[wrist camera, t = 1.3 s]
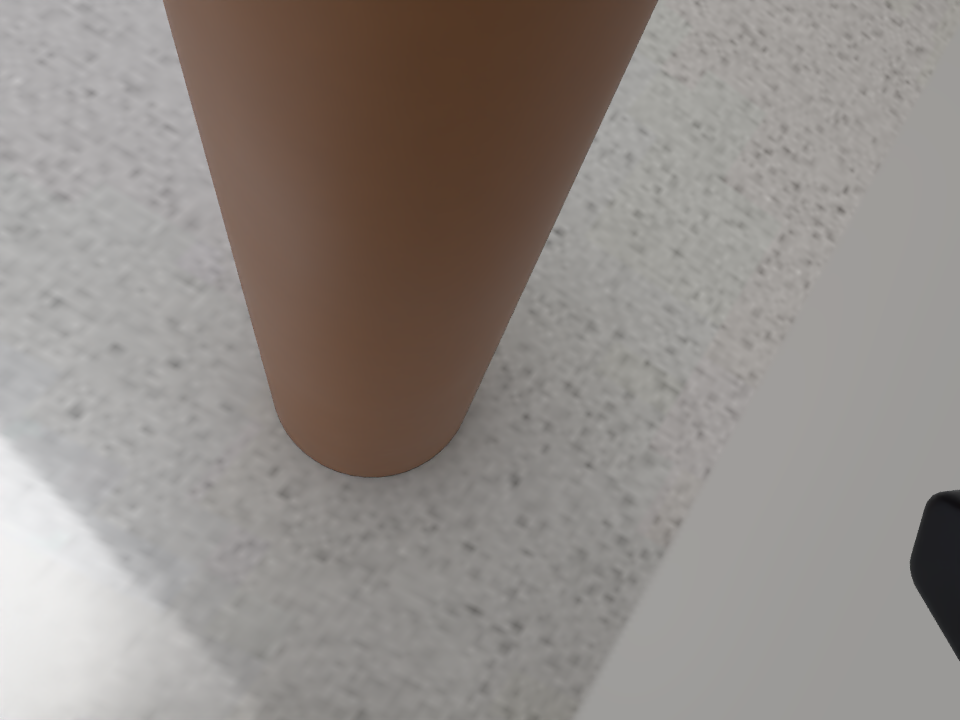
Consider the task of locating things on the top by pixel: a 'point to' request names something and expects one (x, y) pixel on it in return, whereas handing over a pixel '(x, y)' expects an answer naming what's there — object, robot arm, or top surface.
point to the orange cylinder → (392, 191)
